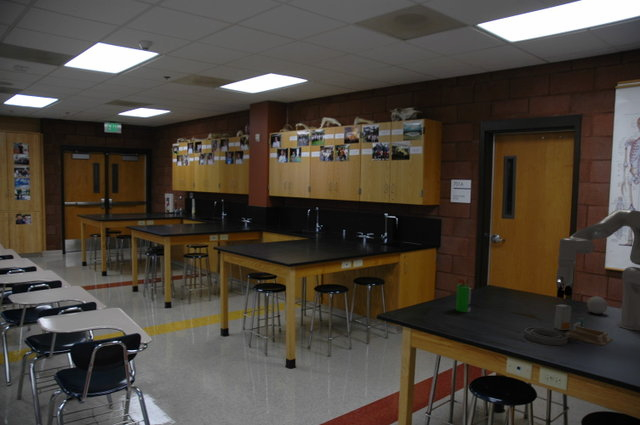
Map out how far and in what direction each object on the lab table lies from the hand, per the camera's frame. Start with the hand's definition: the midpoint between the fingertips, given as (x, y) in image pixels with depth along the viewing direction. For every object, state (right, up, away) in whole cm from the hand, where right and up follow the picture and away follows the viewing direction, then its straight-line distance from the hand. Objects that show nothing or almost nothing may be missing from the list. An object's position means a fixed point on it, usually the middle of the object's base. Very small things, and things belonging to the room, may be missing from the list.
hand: (564, 296), depth 236 cm
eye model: (+36, -16, +33) cm, 52 cm away
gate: (+6, -16, -1) cm, 17 cm away
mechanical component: (-17, -18, -15) cm, 29 cm away
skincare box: (-1, -17, +1) cm, 17 cm away
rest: (+4, -18, -12) cm, 22 cm away
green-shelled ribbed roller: (-42, -14, +31) cm, 54 cm away
